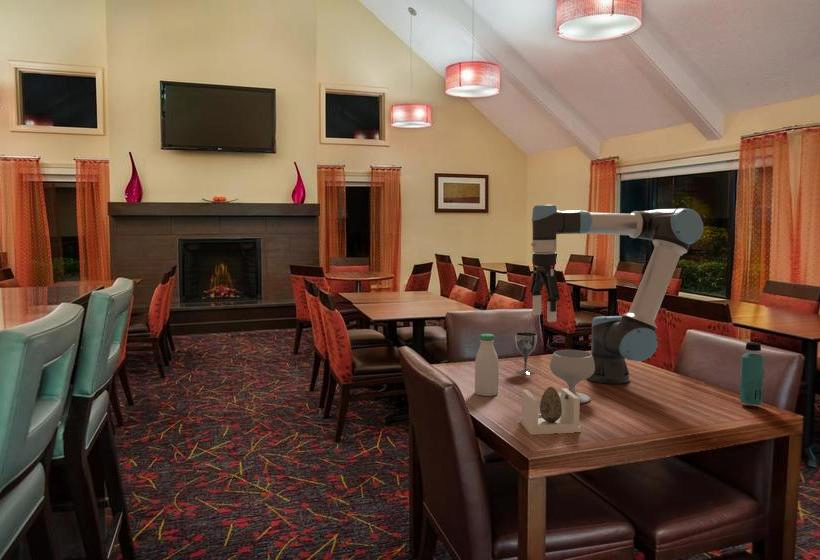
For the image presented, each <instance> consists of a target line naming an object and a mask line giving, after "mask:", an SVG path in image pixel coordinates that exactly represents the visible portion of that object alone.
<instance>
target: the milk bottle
mask: <svg viewBox="0 0 820 560" xmlns="http://www.w3.org/2000/svg"><path fill="white" fill-rule="evenodd" d="M479 342H480V346H479V348H478V350H477V353H476V355H475V361H474V362H475V364H474V392H475V394H476V395H478V396H482V397H493V396H497V395H498V393H499V357H498V354H497V351H496V349H495V346H494V342H495V335H494V334H492V333H482V334H480V335H479Z"/></svg>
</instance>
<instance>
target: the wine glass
mask: <svg viewBox="0 0 820 560" xmlns="http://www.w3.org/2000/svg"><path fill="white" fill-rule="evenodd" d="M514 337H515V338H514V339H515V345H516V348H517V350H518V351H519V352H520V354H521V355H522V357H523V360H524V361H523V362H524V363H523V364H524V366H523V367H524V368H523V369H520V370H516V371H517V372H515V373H516V374H517V375H520V374H521V375H523V376H531V375H535V374H536V372H535V371H532V370H528V369H527V368H528V367H527V366H528V365H527V364H528V363H527V362H528V358H529V356H530V355H531V354H532V352H533V351H535V349H536V346H537V338H538V335H537V333H536V332H533V331H532V332H531V331H518V332H515V336H514Z"/></svg>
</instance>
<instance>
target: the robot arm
mask: <svg viewBox="0 0 820 560" xmlns="http://www.w3.org/2000/svg"><path fill="white" fill-rule="evenodd" d="M531 215H532V217H531V221H532V222H531V224H532V226H531V227H532V243H530V244H531V246H532V253H533V254H532V258H531V259H532V260H531V263H532V265H533V268H532V270H533V271H532V278H531V283H530V289H529V292H530V293H531V295H532V315H533V316H540V315H541V316H542V295H543V294H542V289H543V286H544V287H545V291H546V295H547V299H546V303H547V304H546V305H547V314H546V315H547V319H546V320H547V321H546V322H547V323H553V322H554V323H555V322H556V323H557V316H558V315H557V313H558V312H557V308H558V307H557V304H558V301H560V299H561V295H560V292H559V291H560V290H559V286H558V285H559V284H558V280H557V270H556V269H552V266H556V265H557V254H556V252H557V235H567V234H568V235H570V234H572V235H573V234H574V235H575V234H577V235H580V234H581V235H582V234H583V235H584V234H586V235H611V236H613V235H614V236H616V235H617V236H618V235H619V236H629V237H630V238H631V239H641V240H648V241H652V244H653V247H654V249H652V250H653V251H652V253H651V255H650V259H649V260H648V263H647V266H646V269H645V271H644V274H643V276H642V277H641V278H642V279H641V281H640V284H639V285H638V288H637V291H636V293H635V295H634V298H633V301H632V304H631V306H630V308H629V310H628V312H626V313H623V314H622V315H614V316H613V315H609V316H608V315H607V316H605V315H603V316H601V315H600V316H595V317H593V318H592V321H591V347H590V348H591V352H590V354H591V355H592V357H593V359H594V363H595V371H594V373H593V375H592V376H590V377H589V378H587V379H586V380H589V381H591V382H594V383H600V384H608V385H609V384H610V385H618V384H619V385H621V384H625V383H628V382H630V372H629V368H628V365H627V361H626V360H628V361H634V362H642V361H645V360H648V359H649V358H651V357H652V356H653V355H654V354H655V352H656V351H657V349H658V343H659V342H658V339H657V338H658V336H657V334H656V331H657V328H658V326H657V324H656V323H655V320H656V318H657V316H658V312H659V310H660V308H661V305H662V303H663V300H664V298H665V295H666V293H667V291H668V288H669V285H670V282H671V281H672V278H673V275H674V273H675V270H676V268H677V264H678V262H679V260H680V257H681V256H682V255H684V254H687V253H688V251H689V249H690V246H691V245H693V244H694V243H696V242H698V241H699V240H700V239H701V238H702V235H703V233H704V222H703V221H704V220H702V217H701V215H700V214H699V212H697V211H695V210H694V209H692V208H684V207H679V208H657V209H651V210H634V211H631V212H630V213H617V212H616V213H615V212H613V213H612V212H590V211H588V210H582V209H578V210H576V209H575V210H574V209H573V210H558V209H557V206H556V205H555V204H537V205H534V206H533V208H532V214H531Z"/></svg>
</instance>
